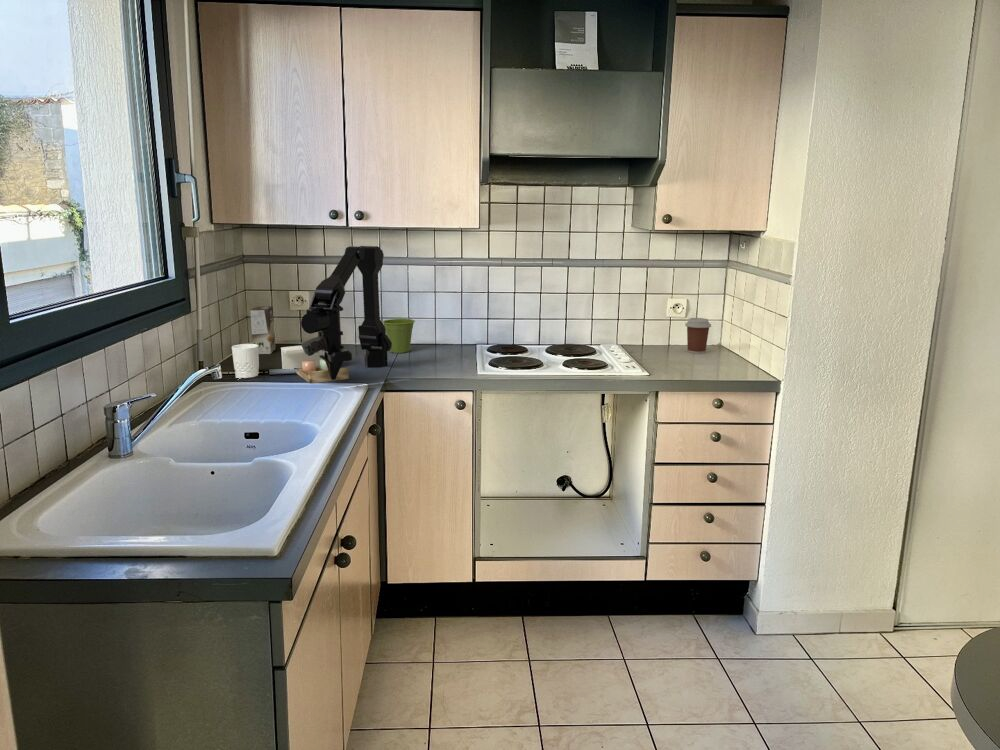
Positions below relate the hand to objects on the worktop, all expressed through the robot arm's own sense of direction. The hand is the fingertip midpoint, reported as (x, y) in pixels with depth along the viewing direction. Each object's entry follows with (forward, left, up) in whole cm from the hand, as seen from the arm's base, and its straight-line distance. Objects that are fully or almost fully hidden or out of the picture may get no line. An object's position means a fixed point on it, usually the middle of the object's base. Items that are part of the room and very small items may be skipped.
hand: (333, 379), depth 224 cm
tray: (0, -10, -2) cm, 11 cm away
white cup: (+20, -23, -2) cm, 31 cm away
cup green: (-3, -15, -1) cm, 15 cm away
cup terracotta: (+3, -15, -1) cm, 15 cm away
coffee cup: (-132, +15, -2) cm, 133 cm away
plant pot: (-37, -38, -2) cm, 53 cm away
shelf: (0, -22, -2) cm, 22 cm away
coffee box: (+6, -61, -2) cm, 61 cm away
